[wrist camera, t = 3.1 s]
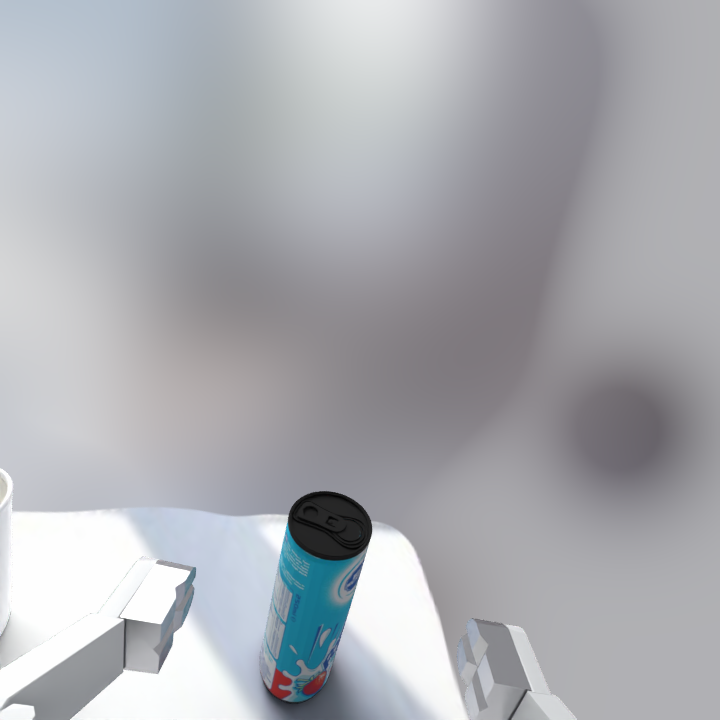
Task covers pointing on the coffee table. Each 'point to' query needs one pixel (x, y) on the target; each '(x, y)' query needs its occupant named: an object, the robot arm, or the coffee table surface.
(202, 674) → the coffee table surface
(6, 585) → the candle holder
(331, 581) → the beverage can
